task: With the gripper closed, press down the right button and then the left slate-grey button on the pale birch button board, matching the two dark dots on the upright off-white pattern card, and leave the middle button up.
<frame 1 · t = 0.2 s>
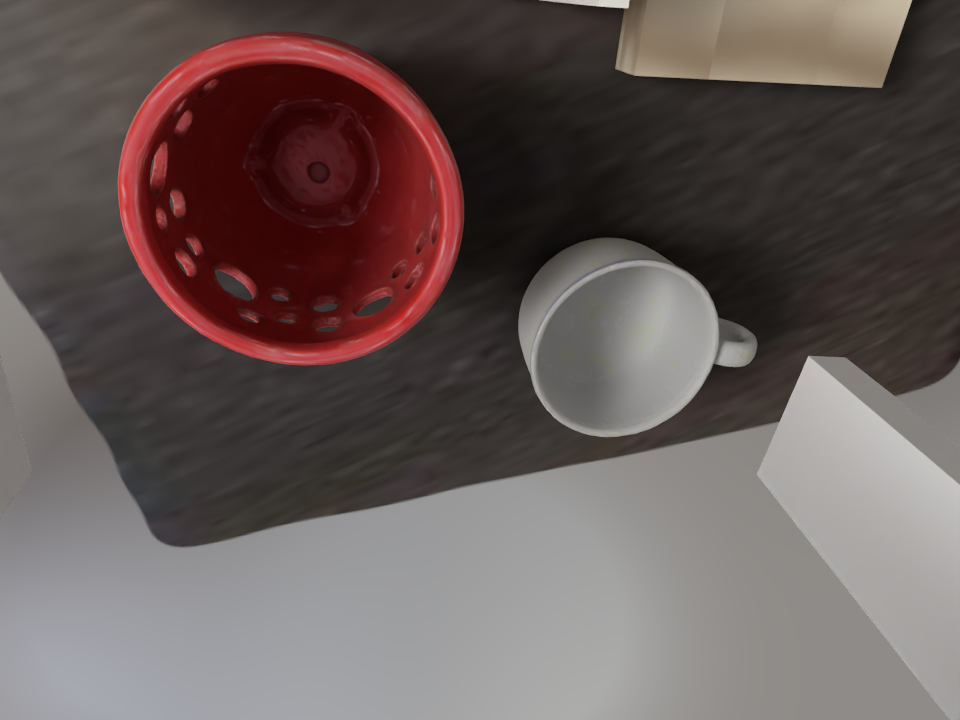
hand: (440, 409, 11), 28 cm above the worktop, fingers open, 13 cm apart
teacup: (607, 300, 42), on the worktop
plant pot: (319, 153, 35), on the worktop
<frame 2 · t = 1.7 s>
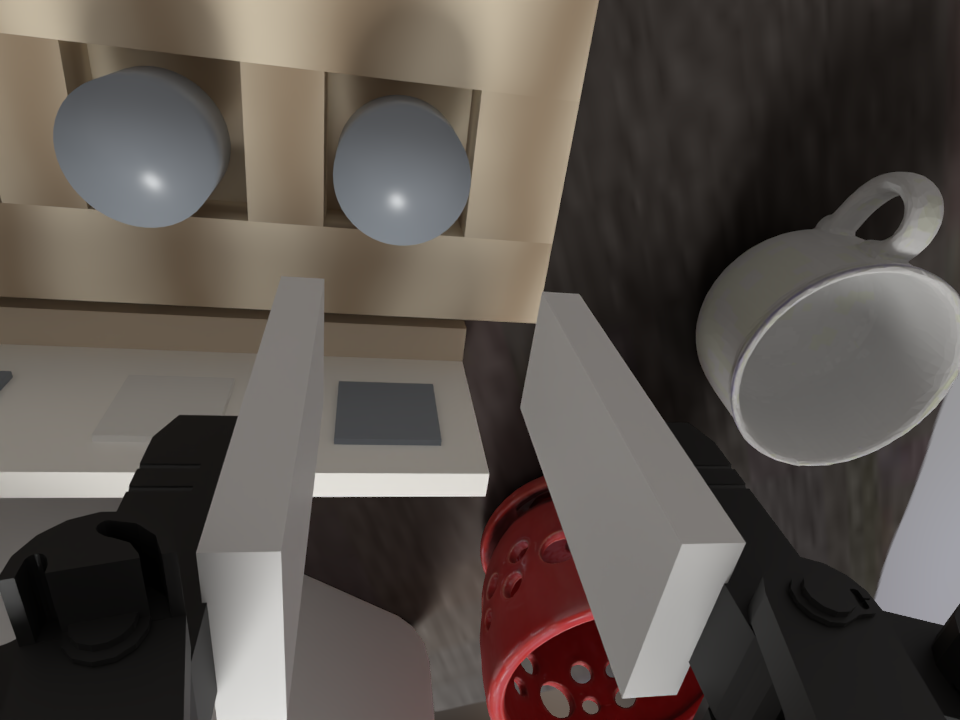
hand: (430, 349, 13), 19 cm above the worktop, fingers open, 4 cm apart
teacup: (776, 276, 35), on the worktop
button centre: (149, 146, 23), point 4 cm above the worktop, slide at 0.0 cm
button board: (181, 123, 27), on the worktop
plant pot: (558, 520, 42), on the worktop
rounded white slab: (225, 571, 40), on the worktop
pattern card: (203, 351, 32), on the worktop
button 1: (401, 170, 25), point 4 cm above the worktop, slide at 0.0 cm
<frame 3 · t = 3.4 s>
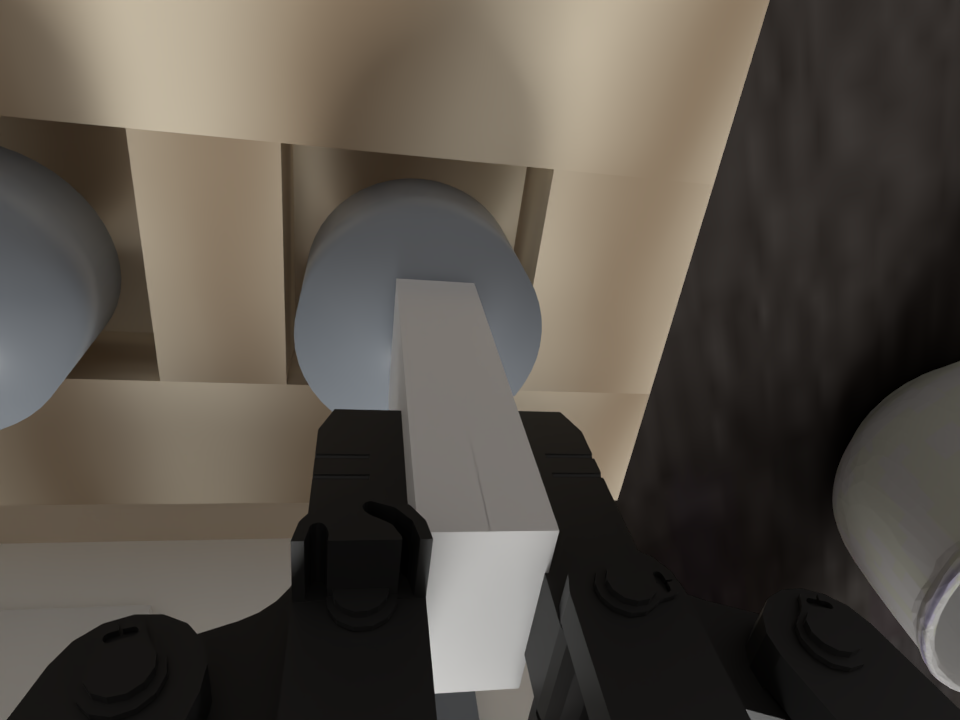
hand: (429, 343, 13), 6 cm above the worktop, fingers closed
teacup: (940, 400, 25), on the worktop
button board: (52, 215, 16), on the worktop
pattern card: (116, 532, 22), on the worktop
button 1: (416, 308, 14), point 4 cm above the worktop, slide at 0.1 cm, touching gripper
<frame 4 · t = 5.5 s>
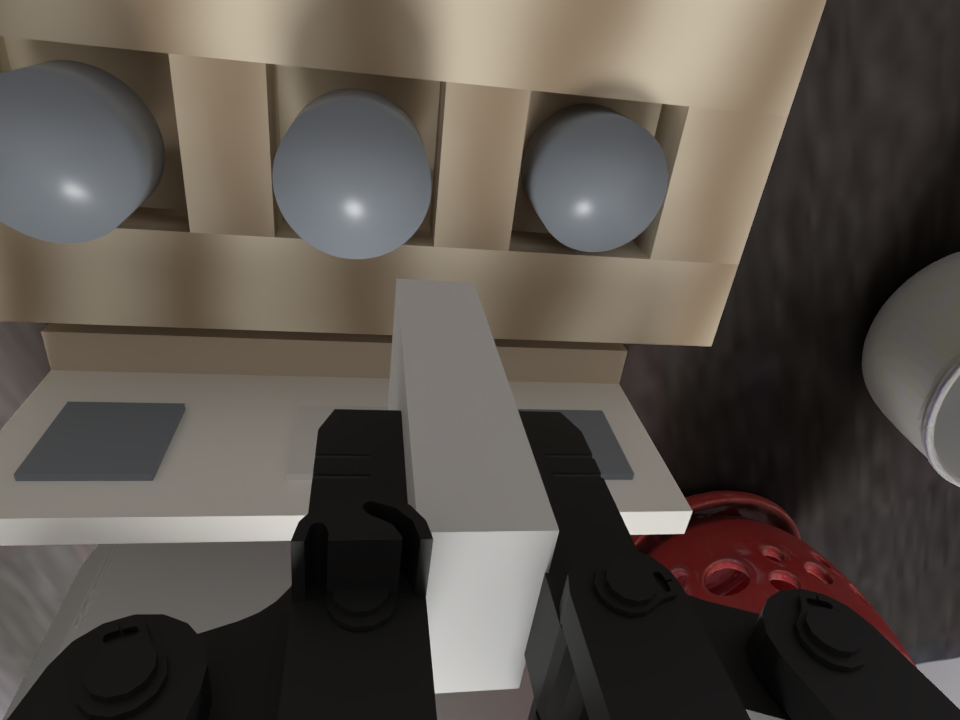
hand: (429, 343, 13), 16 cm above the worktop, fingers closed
teacup: (943, 290, 33), on the worktop
button 2: (66, 151, 20), point 4 cm above the worktop, slide at 0.0 cm
button centre: (355, 173, 22), point 4 cm above the worktop, slide at 0.0 cm
button board: (359, 144, 26), on the worktop
plant pot: (688, 542, 41), on the worktop
rounded white slab: (353, 594, 39), on the worktop
pattern card: (356, 376, 31), on the worktop
button 1: (591, 177, 25), point 2 cm above the worktop, slide at 2.1 cm
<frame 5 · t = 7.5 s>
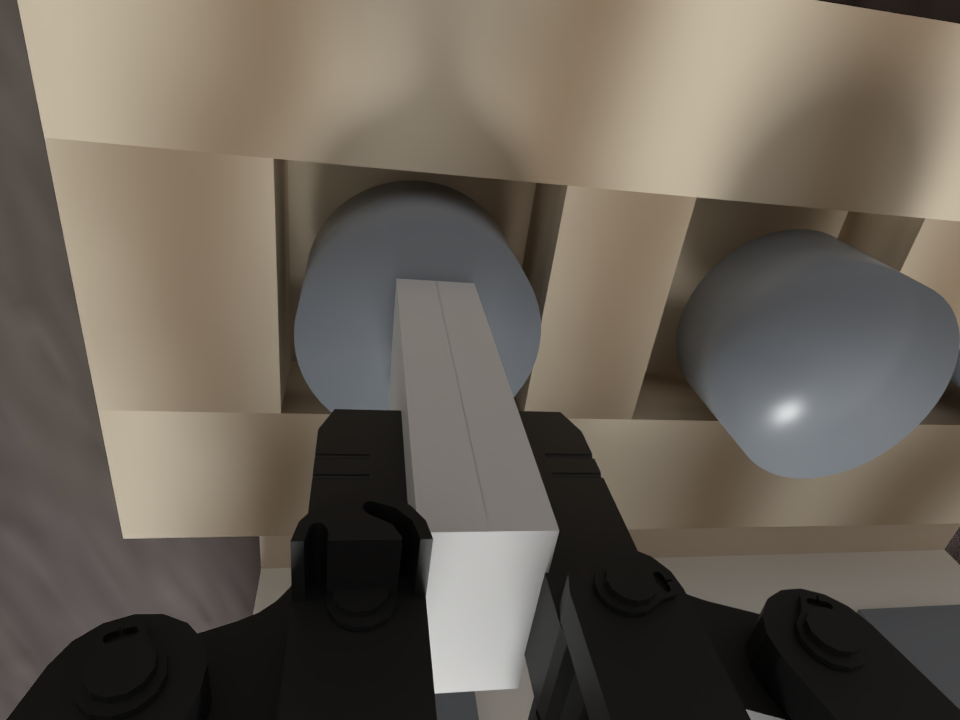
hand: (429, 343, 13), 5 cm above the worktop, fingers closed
button 2: (416, 310, 14), point 3 cm above the worktop, slide at 1.3 cm, touching gripper
button centre: (805, 353, 15), point 4 cm above the worktop, slide at 0.0 cm
button board: (715, 278, 19), on the worktop
pattern card: (626, 549, 24), on the worktop
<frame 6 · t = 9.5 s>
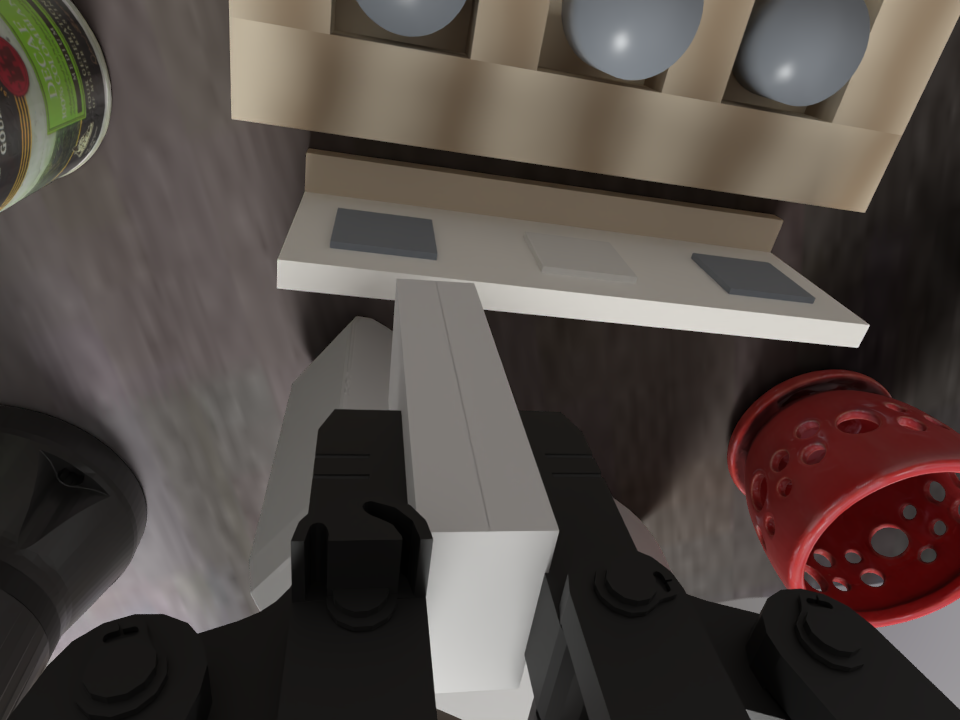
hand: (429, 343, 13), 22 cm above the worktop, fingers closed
button centre: (629, 9, 26), point 4 cm above the worktop, slide at 0.0 cm
button board: (599, 5, 30), on the worktop
plant pot: (792, 424, 45), on the worktop
rounded white slab: (495, 451, 44), on the worktop
pattern card: (547, 228, 35), on the worktop
button 1: (796, 43, 30), point 2 cm above the worktop, slide at 2.1 cm
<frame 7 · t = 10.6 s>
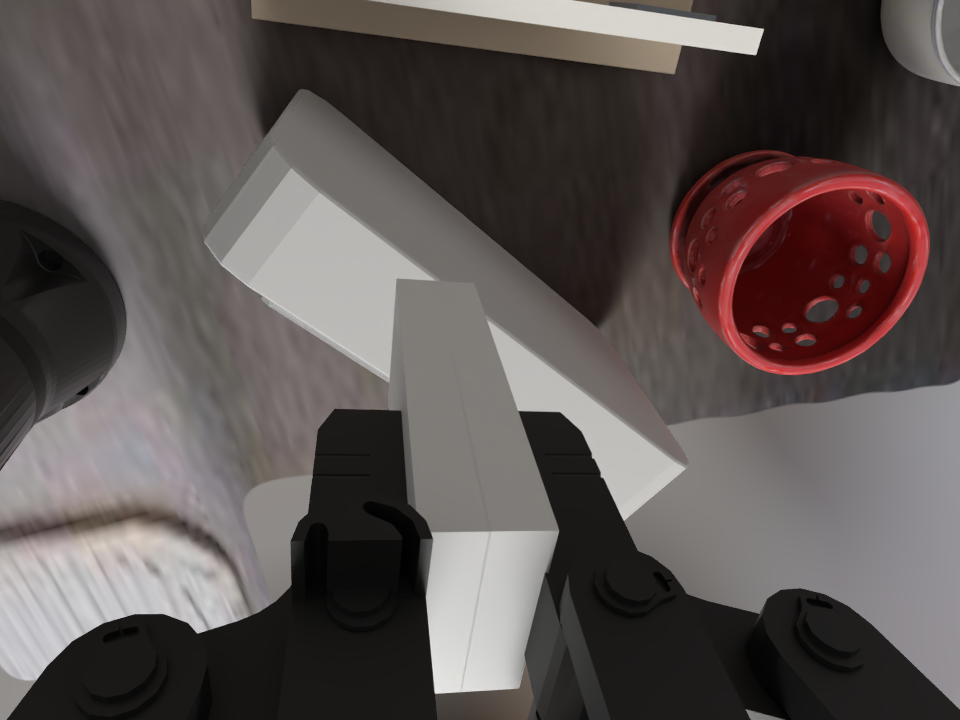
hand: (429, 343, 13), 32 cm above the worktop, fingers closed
plant pot: (730, 220, 48), on the worktop
rounded white slab: (450, 251, 46), on the worktop
pattern card: (479, 0, 38), on the worktop
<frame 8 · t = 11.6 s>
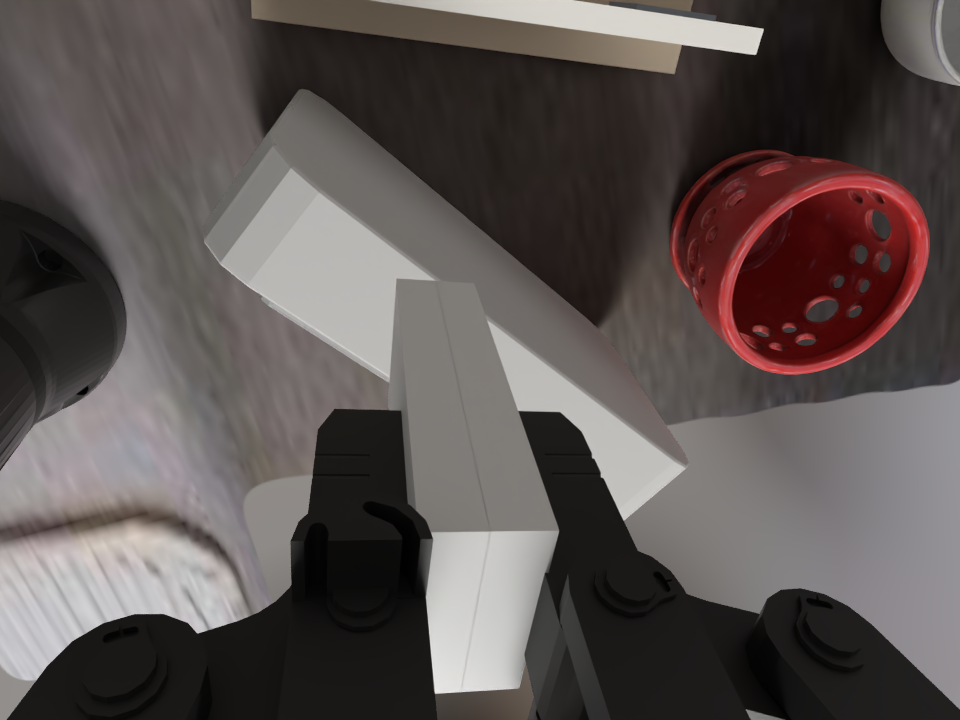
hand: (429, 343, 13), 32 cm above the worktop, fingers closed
plant pot: (730, 220, 48), on the worktop
rounded white slab: (450, 251, 46), on the worktop
pattern card: (479, 0, 38), on the worktop
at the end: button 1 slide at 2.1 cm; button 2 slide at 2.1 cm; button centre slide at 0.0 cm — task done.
